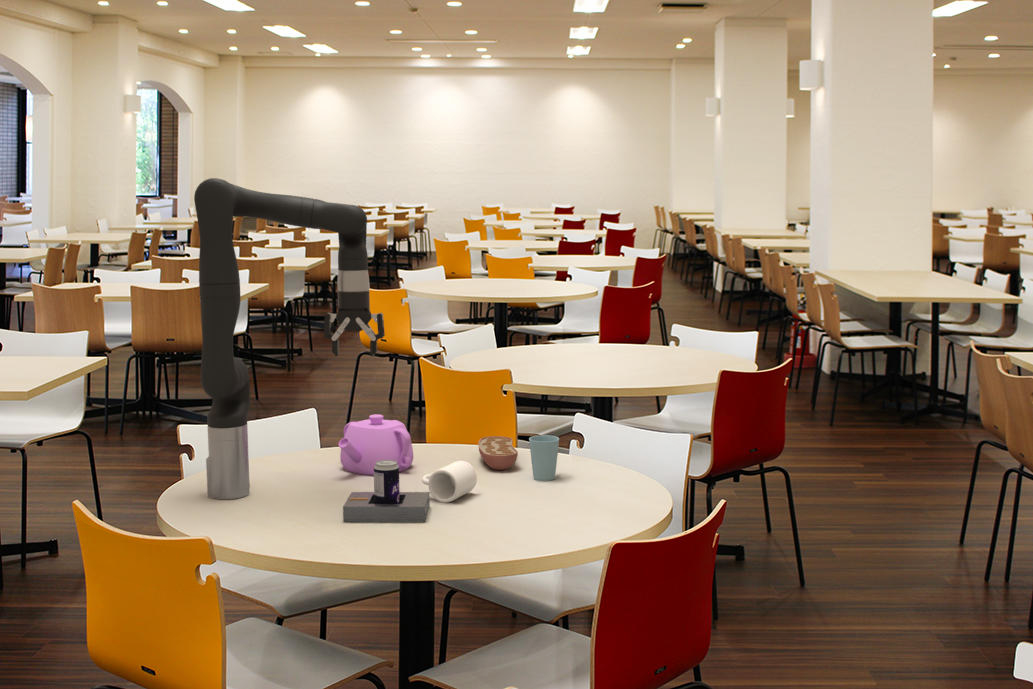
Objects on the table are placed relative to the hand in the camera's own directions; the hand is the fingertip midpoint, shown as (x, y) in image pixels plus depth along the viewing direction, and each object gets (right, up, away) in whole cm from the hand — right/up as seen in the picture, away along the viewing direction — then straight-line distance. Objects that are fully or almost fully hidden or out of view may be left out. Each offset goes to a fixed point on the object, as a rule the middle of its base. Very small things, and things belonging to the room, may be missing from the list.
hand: (354, 355), depth 258 cm
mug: (+22, -34, -2) cm, 40 cm away
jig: (+10, -36, -16) cm, 40 cm away
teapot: (+1, -30, +24) cm, 39 cm away
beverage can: (+10, -36, -16) cm, 41 cm away
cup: (+46, -32, +15) cm, 58 cm away
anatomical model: (+34, -30, +31) cm, 55 cm away
